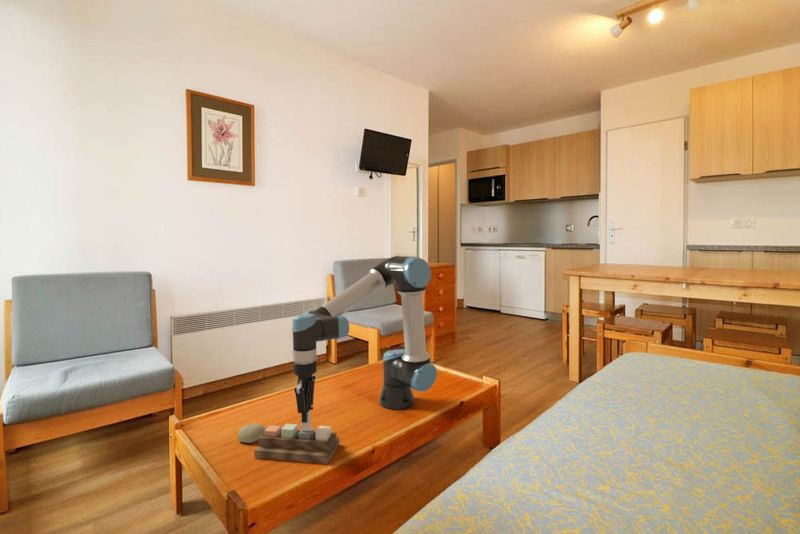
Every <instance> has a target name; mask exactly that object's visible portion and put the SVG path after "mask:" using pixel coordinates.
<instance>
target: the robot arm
mask: <svg viewBox="0 0 800 534" xmlns="http://www.w3.org/2000/svg"><path fill="white" fill-rule="evenodd" d="M431 279H432V270H431V267H430V265H429V263H428V262H427V261H426V260H425V259H423V258H422V257H416V256H405V255H404V256H402V255H401V256H400V255H398V256H397V255H395V256H391V257H388V258H386V259H384V260H383V261H380V262H379V263H378V264H376V265H375V266H374V267H372V268H371V269H370V270H369V271H368V274H366V275H365V276H363V277H362V278H360V279H359V280H358V281H356V282H355V283H353V284H352V285H350V286H348V287H347V288H346V289H344V290H343V291H341V292H340V293H338V294H337V295H336V296H334V297H332V298H331V299H330V300H329V301H326V302H325V303H324V304H322V305H320V306H319V307H318V308H316V309H314V310H307V311H306V312H304V313H302V314H301V313H299V314H296V315H295V316H293V318H292V328H291V331H292V349H293V350H292V352H291V354H292V357H293V359H292V360H293V362H292V363H293V364H292V367H293V368H292V369H293V374H294V376H295V375H296V376H297V387H294V388H293V389H294V390H293V391H294V394H295V400H296V401H295V402H296V406H297V409H296V410H297V413H298V414H300V418H301V419H300V423H301V424H300V427H301V428H300V430H301V431H310V430H311V428H312V426H311V425H312V424H311V423H312V422H311V411H313V410H314V407H313V406H314V396H315V381H316V376H315V375H314V374H316V373H317V371H318V370H317V368H318V366H317V365H318V364H317V363H318V362H317V354H318V353H317V342H323V341H330V340H338V339H341V338H344V337H345V338H346V337H347V336H348V335H349V333H350V323H349V320H348V319H347V317H346V316H343V315H345V314H346V313H347V312H349V311H351V310H352V309H353V308H355V307H356V306H357V305H358V304H360V303H361V302H363V301H364V300H366V299H367V298H368V297H370V296H372V294H374V293H375V292H377V291H378V290H379V289H380V290H383V289H385V288H386V287H388V286H391V285H396V293H398V294H399V295H400V297H401V310H402V312H401V313H402V327H403V328H402V329H403V339H404V341H403V342H404V344H403V345H404V349H403V348H402V349H393V350H387V351H385V352H384V353H383V358H382V362H383V363H382V365H383V368H382V369H383V373H382V374H383V377H382V378H383V379H382V380H383V384H382V385H383V386H382V389H381V393H380V395H379V405H380V406H381V407H383V408H385V409H388V410H403V409H408V408H410V407H412V406H413V405H414V404H415V396H414V393H413V391H414V390H415V391H418V392H426V391H428V390H429V389H431V388H432V386H433V385H434V384H435V383H436V380H437V376H438V371H437V367H436V366H435V365H434V363H432V362H431V354H430V353H429V352H427V346H426V345H427V344H426V328H425V314H424V313H425V311H424V297H423V295H424V293H425V291H427V285H428V284H429V283H430V281H431Z"/></svg>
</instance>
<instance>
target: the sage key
mask: <svg viewBox="0 0 800 534" xmlns="http://www.w3.org/2000/svg"><path fill="white" fill-rule="evenodd" d="M297 430H298V424H295V423H285V424H284V426H282V427H281V438H289V439H294V438H295V437H296V435H297V434H298V433H297Z"/></svg>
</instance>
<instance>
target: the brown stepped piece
mask: <svg viewBox="0 0 800 534" xmlns="http://www.w3.org/2000/svg"><path fill="white" fill-rule="evenodd" d="M300 430H301V429H297V433H299V432H300ZM339 446H340V437H337V432H333V431H331V438H330V439H329V441H316V430H314V437H313V438H312V439H311V440H302V439H298V434H297V435H296V437H295V438H294V439H289V438H281V433H280V434H279V435H278V437H277V438H275V437H264V433H263V434H262V435H261V436H259V437H258V446H257V447H256V448H255V449H254V451H253V452H254V458H255V459H264V460H265V459H267V460H280V461H291V462H303V463H313V464H314V463H315V464H316V463H317V464H327V465H328V464H329V463H330V461H331V459H332V457H333V456H334V454H335V453H336V451H337V449H338V448H339Z"/></svg>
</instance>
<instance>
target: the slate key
mask: <svg viewBox="0 0 800 534" xmlns="http://www.w3.org/2000/svg"><path fill="white" fill-rule="evenodd" d="M299 430H300V432H299V433H298V439H302V440H311V439H312V438H313V437H314V431H315V428H314V427H311V430H310V431H301V429H299Z"/></svg>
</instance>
